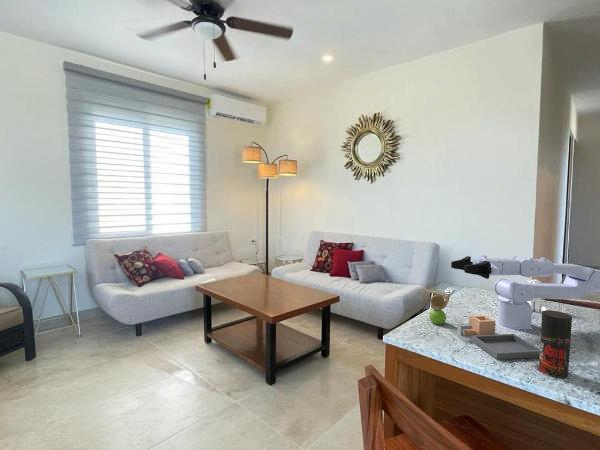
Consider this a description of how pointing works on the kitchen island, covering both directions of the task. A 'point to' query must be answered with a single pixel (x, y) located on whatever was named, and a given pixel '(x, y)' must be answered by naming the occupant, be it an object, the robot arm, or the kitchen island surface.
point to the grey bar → (463, 326)
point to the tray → (506, 346)
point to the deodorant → (555, 343)
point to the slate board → (463, 337)
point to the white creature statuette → (536, 301)
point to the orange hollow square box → (480, 326)
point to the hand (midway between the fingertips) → (458, 267)
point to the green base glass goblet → (438, 309)
